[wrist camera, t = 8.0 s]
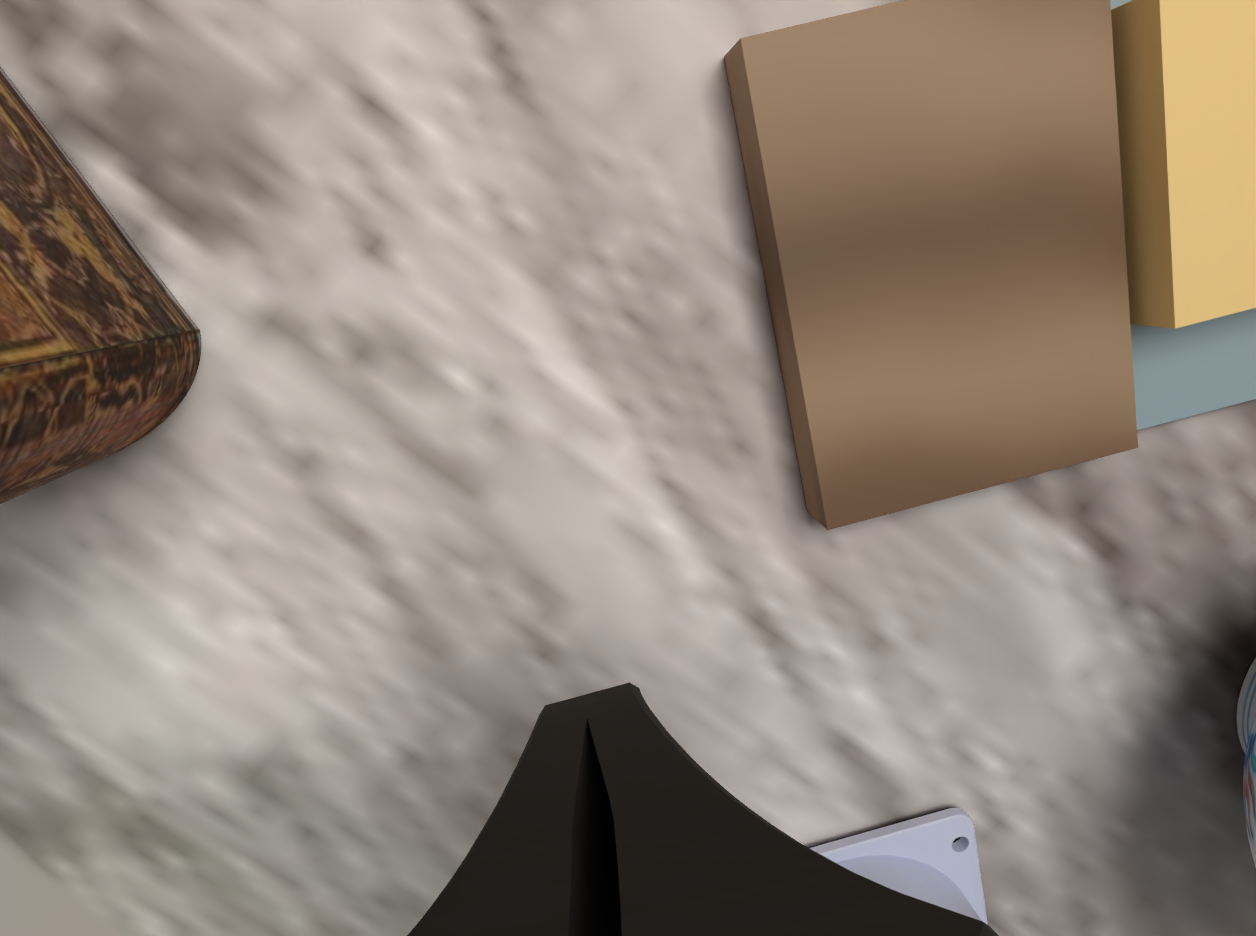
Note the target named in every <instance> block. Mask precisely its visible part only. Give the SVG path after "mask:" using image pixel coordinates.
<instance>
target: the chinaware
mask: <svg viewBox="0 0 1256 936" xmlns="http://www.w3.org/2000/svg"><path fill="white" fill-rule="evenodd" d="M1237 730H1238V736H1239V740H1240V743H1241V746H1242V749H1243V751H1244V753H1245V763H1244V775H1243V800H1244V813H1245V822H1246V828H1247V834H1248V839H1249V844H1250V849H1251V853H1252V857H1253V860H1254V864H1255V868H1256V658H1255V659H1254V661H1253V663H1252V664H1251V666H1250V668H1249V670H1248V672H1247V675H1246V677H1245V679H1244V682H1243V685H1242V688H1241V691H1240V695H1239V700H1238V706H1237Z"/></svg>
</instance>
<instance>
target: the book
mask: <svg viewBox="0 0 1256 936" xmlns="http://www.w3.org/2000/svg"><path fill="white" fill-rule="evenodd" d="M200 354H201V337H200V330H199V329H198V328H197V327H196V326H195V324H194V323H193V322H192V320H191V319H190V318H189V316H188V315H187V314H186V312H185V311H184V310H183V308H182V307H181V306H180V304H179V303H178V302H177V300H176V299H175V298H174V296H173V295H172V294H171V292H170V291H169V290H168V288H167V287H166V286H165V285H164V283H163V282H162V281H161V279H160V278H159V277H158V275H157V274H156V273H155V271H154V270H153V269H152V267H151V266H150V265H149V263H148V262H147V261H146V259H145V258H144V257H143V255H142V254H141V253H140V251H139V250H138V249H137V247H136V246H135V245H134V243H133V242H132V241H131V240H130V238H129V237H128V236H127V234H126V233H125V232H124V230H123V229H122V228H121V226H120V225H119V224H118V222H117V221H116V220H115V218H114V217H113V216H112V214H111V213H110V212H109V210H108V209H107V208H106V206H105V205H104V204H103V202H102V201H101V200H100V198H99V197H98V196H97V195H96V193H95V192H94V191H93V189H92V188H91V187H90V185H89V184H88V183H87V181H86V180H85V179H84V177H83V176H82V175H81V173H80V172H79V171H78V169H77V168H76V167H75V165H74V164H73V163H72V161H71V160H70V159H69V157H68V156H67V155H66V153H65V152H64V151H63V149H62V148H61V147H60V146H59V144H58V143H57V142H56V140H55V139H54V138H53V136H52V135H51V134H50V132H49V131H48V130H47V128H46V127H45V126H44V124H43V123H42V122H41V120H40V119H39V118H38V116H37V115H36V114H35V112H34V111H33V110H32V108H31V107H30V106H29V104H28V103H27V102H26V101H25V99H24V98H23V97H22V95H21V94H20V93H19V91H18V90H17V89H16V87H15V86H14V85H13V83H12V82H11V81H10V79H9V78H8V77H7V75H6V74H5V73H4V71H3V70H2V69H1V67H0V504H1V503H3V502H5V501H8V500H10V499H12V498H14V497H16V496H19V495H21V494H23V493H25V492H28V491H30V490H32V489H34V488H37V487H39V486H41V485H43V484H45V483H48V482H50V481H52V480H54V479H57V478H59V477H61V476H63V475H66V474H68V473H70V472H72V471H74V470H77V469H79V468H81V467H83V466H86V465H88V464H90V463H92V462H95V461H97V460H99V459H101V458H103V457H106V456H108V455H110V454H112V453H115V452H117V451H119V450H121V449H123V448H125V447H127V446H128V445H130V444H132V443H134V442H136V441H137V440H139V439H141V438H142V437H144V436H145V435H146V434H148V433H149V432H151V431H152V430H153V429H155V428H156V427H157V426H158V425H159V424H161V423H162V422H163V421H164V420H165V419H166V418H167V417H168V416H169V415H170V414H171V413H172V412H173V411H174V410H175V409H176V407H177V406H178V405H179V404H180V402H181V401H182V400H183V398H184V397H185V395H186V393H187V392H188V390H189V388H190V387H191V385H192V382H193V380H194V378H195V375H196V372H197V369H198V365H199V360H200Z"/></svg>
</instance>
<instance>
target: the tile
mask: <svg viewBox="0 0 1256 936" xmlns="http://www.w3.org/2000/svg"><path fill="white" fill-rule="evenodd" d="M1111 20H1112V37H1113V53H1114V69H1115V85H1116V101H1117V117H1118V133H1119V149H1120V165H1121V181H1122V197H1123V214H1124V230H1125V246H1126V262H1127V278H1128V294H1129V310H1130V324H1135V325H1145V326H1155V327H1164V328H1174V329H1176V328H1179V327H1183V326H1187V325H1191V324H1195V323H1199V322H1203V321H1206V320H1210V319H1214V318H1218V317H1222V316H1226V315H1230V314H1233V313H1237V312H1241V311H1245V310H1249V309H1253V308H1256V0H1132V1H1130V2H1128V3H1125V4H1123V5H1121V6H1119V7H1116V8H1114V9H1112V10H1111Z"/></svg>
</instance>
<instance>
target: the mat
mask: <svg viewBox="0 0 1256 936" xmlns="http://www.w3.org/2000/svg"><path fill="white" fill-rule="evenodd" d="M1130 1H1132V0H1110V4H1111V10H1112V9H1114V8H1116V7H1119V6H1121V5H1123V4H1125V3H1128V2H1130ZM1130 326H1131V342H1132V358H1133V375H1134V391H1135V407H1136V423H1137V430H1140V429H1144V428H1148V427H1151V426H1155V425H1159V424H1163V423H1167V422H1170V421H1174V420H1178V419H1182V418H1185V417H1189V416H1193V415H1197V414H1201V413H1204V412H1208V411H1212V410H1216V409H1220V408H1223V407H1227V406H1231V405H1235V404H1238V403H1242V402H1246V401H1250V400H1254V399H1256V308H1253V309H1249V310H1245V311H1241V312H1237V313H1233V314H1230V315H1226V316H1222V317H1218V318H1214V319H1210V320H1206V321H1203V322H1199V323H1195V324H1191V325H1187V326H1183V327H1179V328H1176V329H1174V328H1164V327H1155V326H1145V325H1135V324H1130Z"/></svg>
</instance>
